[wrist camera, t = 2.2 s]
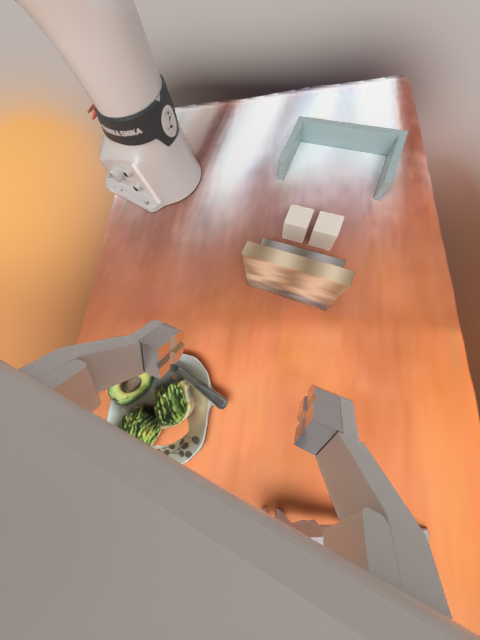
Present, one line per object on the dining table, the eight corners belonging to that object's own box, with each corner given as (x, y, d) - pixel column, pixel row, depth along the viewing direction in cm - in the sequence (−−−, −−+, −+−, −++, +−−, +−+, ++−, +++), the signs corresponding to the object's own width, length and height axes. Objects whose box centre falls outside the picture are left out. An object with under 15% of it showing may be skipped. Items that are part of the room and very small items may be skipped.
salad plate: (234, 350, 33) (230, 348, 28) (222, 472, 29) (214, 491, 24) (130, 341, 36) (111, 337, 31) (105, 451, 31) (79, 464, 27)
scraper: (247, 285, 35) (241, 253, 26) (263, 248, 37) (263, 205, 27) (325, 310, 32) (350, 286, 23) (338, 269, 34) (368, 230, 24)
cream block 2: (307, 245, 36) (312, 230, 32) (314, 227, 36) (320, 210, 33) (329, 251, 35) (337, 236, 31) (336, 232, 36) (344, 216, 32)
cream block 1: (281, 238, 37) (283, 222, 33) (288, 221, 38) (291, 204, 34) (302, 243, 36) (307, 228, 32) (309, 226, 37) (314, 209, 33)
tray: (277, 178, 40) (278, 161, 37) (296, 136, 42) (299, 116, 39) (380, 200, 36) (392, 182, 33) (395, 152, 38) (408, 131, 35)
